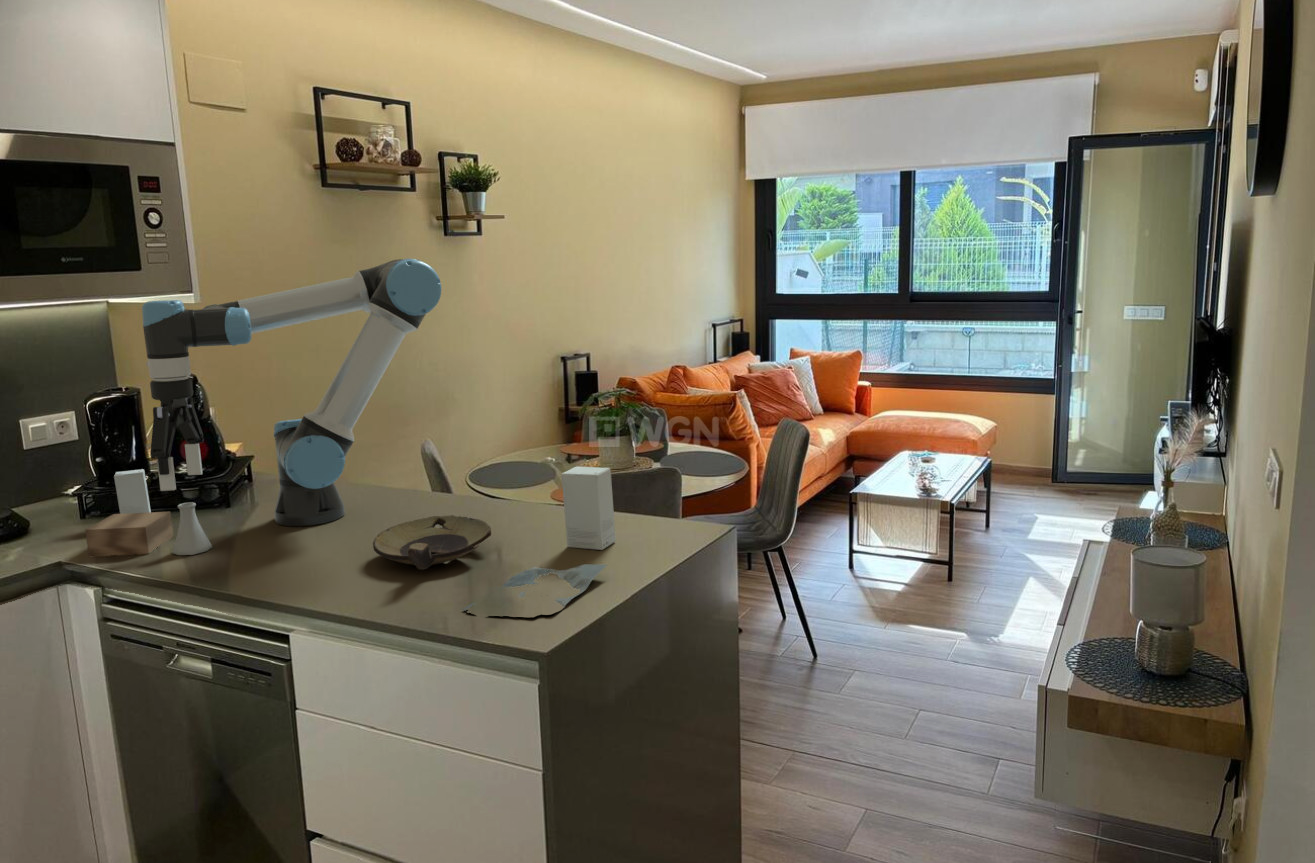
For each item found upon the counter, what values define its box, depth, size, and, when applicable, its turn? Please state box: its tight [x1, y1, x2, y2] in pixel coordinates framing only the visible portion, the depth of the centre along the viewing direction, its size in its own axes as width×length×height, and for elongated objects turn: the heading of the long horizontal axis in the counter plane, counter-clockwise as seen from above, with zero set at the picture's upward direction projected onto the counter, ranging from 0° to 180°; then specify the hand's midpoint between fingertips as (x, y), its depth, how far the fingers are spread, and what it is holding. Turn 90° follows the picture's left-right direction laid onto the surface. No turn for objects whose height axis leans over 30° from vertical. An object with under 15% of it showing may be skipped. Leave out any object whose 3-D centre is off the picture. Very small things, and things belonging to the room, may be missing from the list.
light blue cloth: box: [462, 564, 608, 612], centre depth 172 cm, size 24×16×2 cm, turn 157°
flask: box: [171, 502, 213, 556], centre depth 203 cm, size 7×7×10 cm
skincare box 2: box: [561, 465, 617, 551], centre depth 198 cm, size 8×7×16 cm
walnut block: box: [84, 511, 174, 557], centre depth 208 cm, size 12×12×6 cm
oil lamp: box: [372, 514, 492, 570], centre depth 191 cm, size 22×30×8 cm
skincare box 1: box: [113, 468, 152, 514], centre depth 226 cm, size 6×4×12 cm
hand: (182, 482), depth 201 cm, fingers open, 13 cm apart
